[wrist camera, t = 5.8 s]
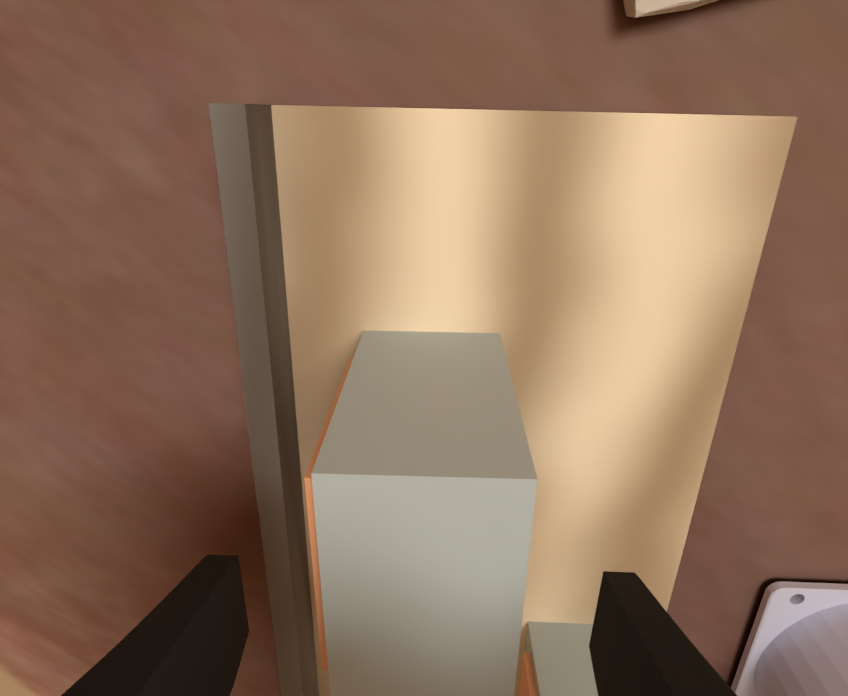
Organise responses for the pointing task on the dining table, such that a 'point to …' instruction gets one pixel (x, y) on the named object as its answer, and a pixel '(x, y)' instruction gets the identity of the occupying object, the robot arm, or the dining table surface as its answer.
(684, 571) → the dining table surface
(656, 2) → the packaged product
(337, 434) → the turn carton
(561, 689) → the faced carton
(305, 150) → the shelf board
